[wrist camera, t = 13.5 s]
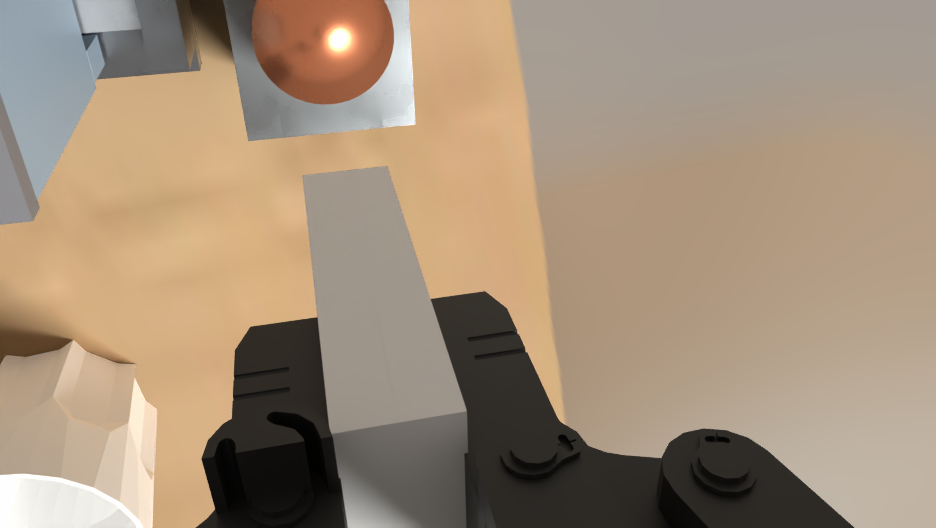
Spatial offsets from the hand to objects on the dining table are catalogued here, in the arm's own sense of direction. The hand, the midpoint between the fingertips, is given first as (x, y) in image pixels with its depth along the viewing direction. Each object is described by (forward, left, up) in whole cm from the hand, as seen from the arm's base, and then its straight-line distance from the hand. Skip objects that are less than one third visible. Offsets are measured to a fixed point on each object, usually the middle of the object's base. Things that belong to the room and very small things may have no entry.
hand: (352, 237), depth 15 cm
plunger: (0, 0, -21) cm, 21 cm away
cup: (-15, -21, -23) cm, 34 cm away
